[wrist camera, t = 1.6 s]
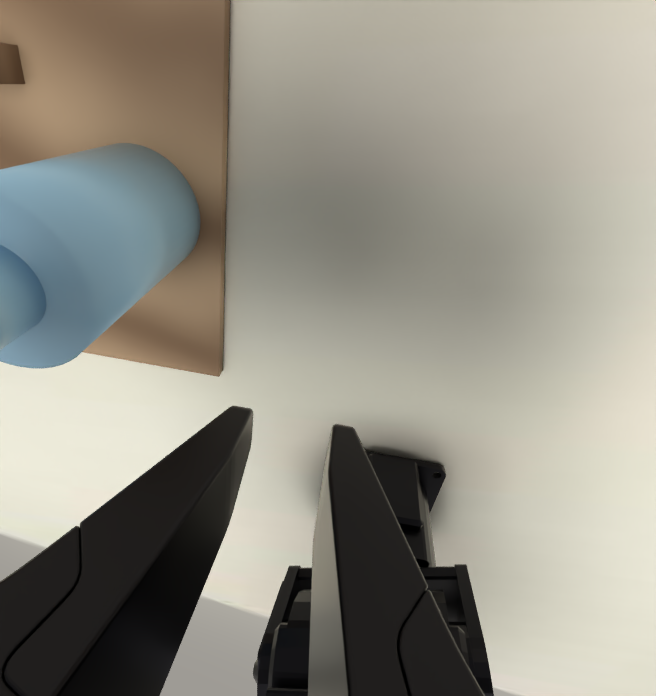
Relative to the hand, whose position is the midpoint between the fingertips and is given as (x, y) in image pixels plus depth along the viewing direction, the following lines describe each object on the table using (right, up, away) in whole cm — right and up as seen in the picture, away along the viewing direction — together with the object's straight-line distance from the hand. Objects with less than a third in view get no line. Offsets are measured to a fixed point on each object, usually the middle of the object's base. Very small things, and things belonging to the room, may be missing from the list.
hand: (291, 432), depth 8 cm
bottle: (-7, +7, +10) cm, 14 cm away
